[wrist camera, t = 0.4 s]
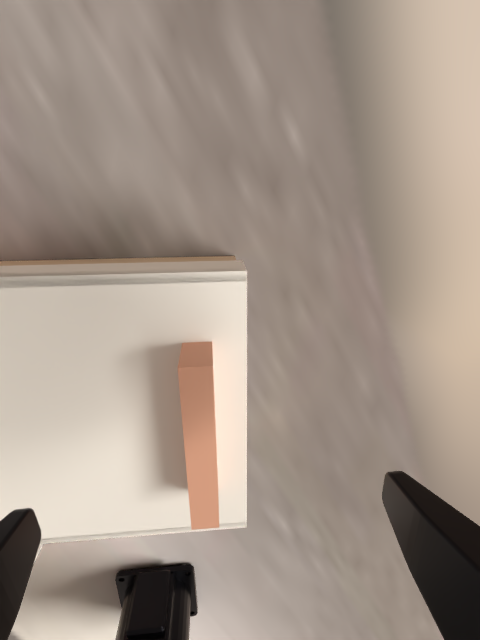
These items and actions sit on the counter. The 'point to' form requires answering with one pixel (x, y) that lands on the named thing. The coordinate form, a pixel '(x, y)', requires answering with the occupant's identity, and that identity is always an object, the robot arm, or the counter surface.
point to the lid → (124, 397)
